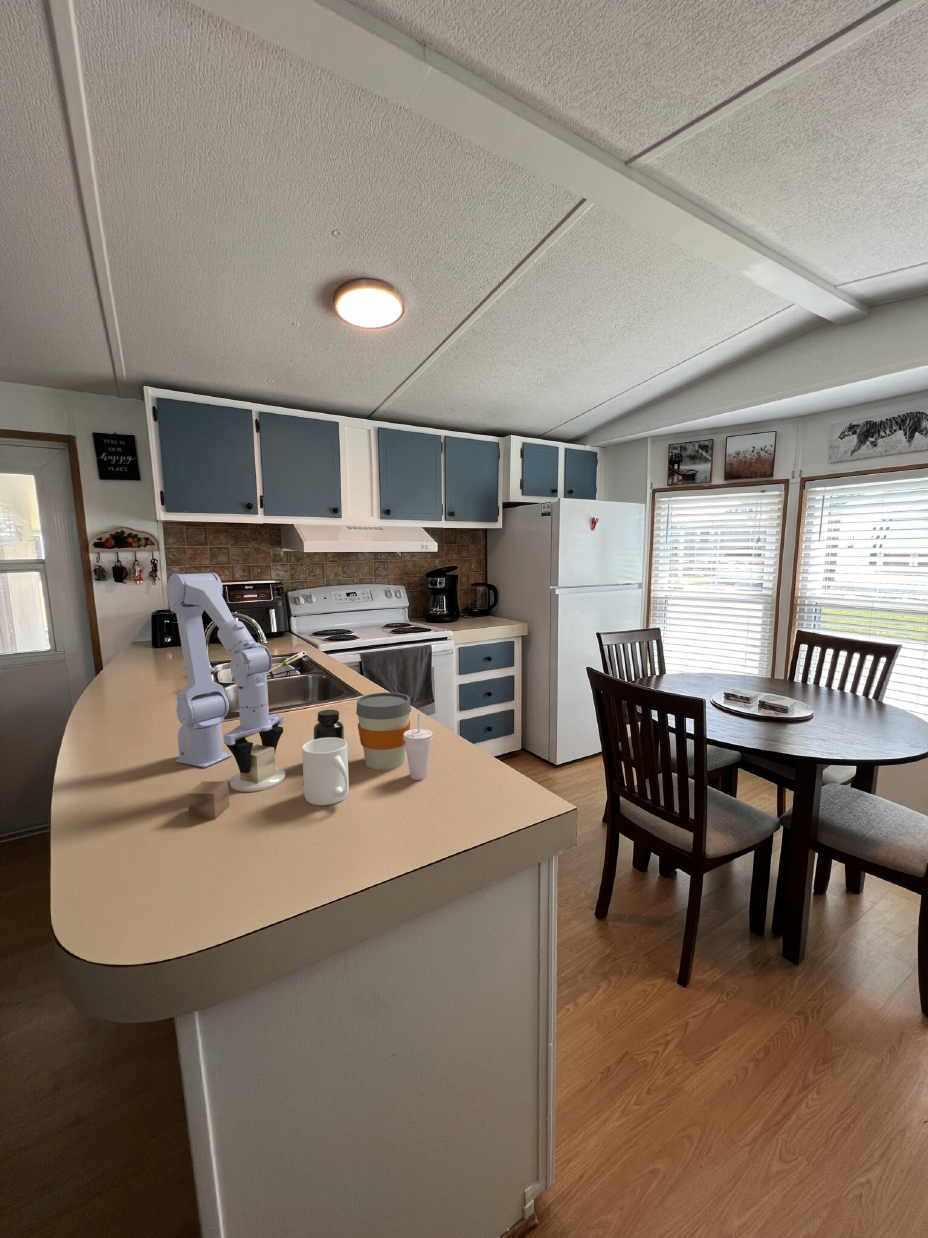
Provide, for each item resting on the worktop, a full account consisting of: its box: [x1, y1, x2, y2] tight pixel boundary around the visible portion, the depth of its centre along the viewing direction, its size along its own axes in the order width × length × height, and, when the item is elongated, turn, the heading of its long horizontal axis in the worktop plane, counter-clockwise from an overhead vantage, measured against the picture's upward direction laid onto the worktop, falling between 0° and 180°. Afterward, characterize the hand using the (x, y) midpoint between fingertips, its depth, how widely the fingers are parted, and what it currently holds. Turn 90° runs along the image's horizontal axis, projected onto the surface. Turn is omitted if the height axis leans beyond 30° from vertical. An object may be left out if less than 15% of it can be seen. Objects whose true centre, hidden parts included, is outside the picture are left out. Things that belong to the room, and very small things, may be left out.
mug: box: [301, 738, 350, 807], centre depth 100 cm, size 9×12×11 cm
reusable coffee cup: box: [356, 692, 412, 771], centre depth 118 cm, size 13×13×15 cm
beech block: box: [239, 744, 276, 783], centre depth 109 cm, size 5×5×6 cm
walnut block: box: [186, 780, 230, 820], centre depth 96 cm, size 5×5×5 cm
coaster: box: [229, 766, 286, 793], centre depth 110 cm, size 11×11×1 cm
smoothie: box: [403, 712, 434, 781], centre depth 111 cm, size 6×6×14 cm
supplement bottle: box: [313, 709, 345, 740], centre depth 119 cm, size 7×7×12 cm
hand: (257, 766), depth 109 cm, fingers open, 6 cm apart
